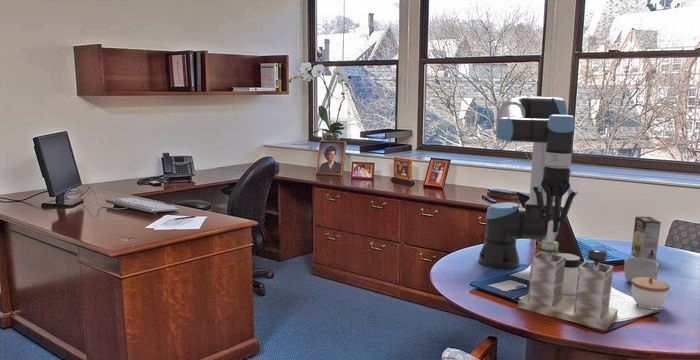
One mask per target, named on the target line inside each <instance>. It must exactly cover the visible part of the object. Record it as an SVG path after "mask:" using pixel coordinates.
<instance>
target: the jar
mask: <svg viewBox="0 0 700 360" xmlns="http://www.w3.org/2000/svg"><path fill="white" fill-rule="evenodd" d="M555 255H560V256H565V257H566V258H565V269H564V279H563V289H562V295H570V296H576V286H577V276H578V267H579V266H580V265H581V257H580V256H578V255H576V254H572V253H567V252H566V253H565V252H564V253H563V252H561V253H556V254H555Z"/></svg>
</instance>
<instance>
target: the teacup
mask: <svg viewBox="0 0 700 360" xmlns="http://www.w3.org/2000/svg"><path fill="white" fill-rule="evenodd" d="M659 266H660V265H659V263H658V262H657V260H655V261H654V260H650V259H646V258H637V257H636V256H634V255H633V256H629V257H627V258H626V259H624V270H623V271H624V278H625V279H626V280H627V281H628V282H630V283H631V284H632V279H633V278H636V277H648V278H649V277H652V278H654V279H658V272H659Z"/></svg>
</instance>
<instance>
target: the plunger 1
mask: <svg viewBox="0 0 700 360" xmlns="http://www.w3.org/2000/svg"><path fill="white" fill-rule="evenodd" d="M546 241H547V240H543V241H541V244H540V250H541V251H542V252H543V251H544V252H545V253H546V260H549V261H551V257H552V254H553V253H557V252H559V246H560V245H559V244H560V243H559V241H555V240H554V242H552V243H548V242H546Z"/></svg>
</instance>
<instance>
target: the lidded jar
mask: <svg viewBox="0 0 700 360" xmlns="http://www.w3.org/2000/svg"><path fill="white" fill-rule="evenodd" d="M669 290H670V284H668V283H667V282H666V281H663V280H661V279H658V278H657V279H654V278H652V277H649V278H648V277H636V278H633V279H632V283H631V295H632V299H633V300H634V301H635V303H636V305H637V304H638V305H640V306H642V307H646V308H658V309H659V308H660V307H662V305H664V304H665V302H667V299H668V295H669ZM638 305H637V306H638ZM640 306H639V307H640ZM642 307H641V308H642ZM646 308H645V309H646Z"/></svg>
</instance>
